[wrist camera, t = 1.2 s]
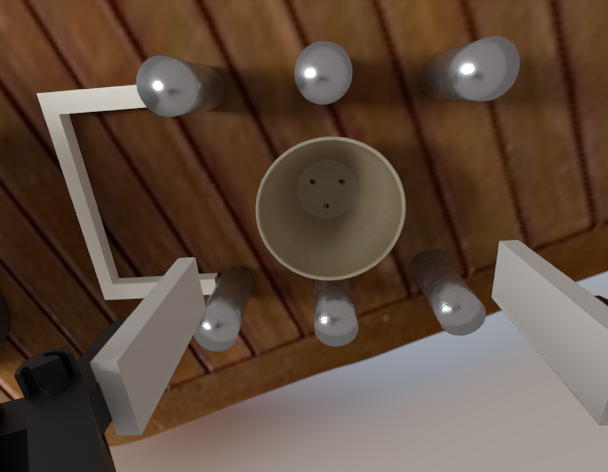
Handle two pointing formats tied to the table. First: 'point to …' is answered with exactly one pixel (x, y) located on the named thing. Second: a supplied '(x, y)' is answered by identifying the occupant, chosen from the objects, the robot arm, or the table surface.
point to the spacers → (324, 90)
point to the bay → (79, 185)
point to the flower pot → (330, 208)
